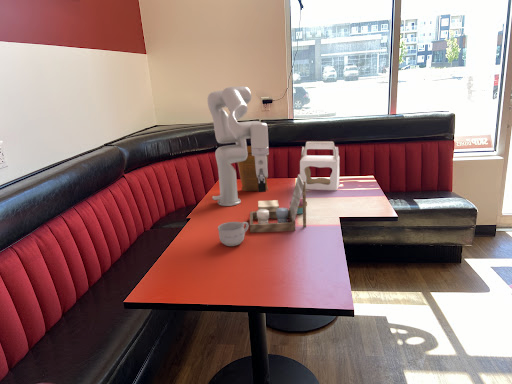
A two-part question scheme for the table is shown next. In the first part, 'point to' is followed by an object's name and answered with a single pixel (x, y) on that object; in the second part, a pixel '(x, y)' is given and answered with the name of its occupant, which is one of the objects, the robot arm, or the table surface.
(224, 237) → the teacup
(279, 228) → the cold frame
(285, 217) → the blue pot
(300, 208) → the cupcake
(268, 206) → the stand
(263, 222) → the cream pot
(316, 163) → the white carry box
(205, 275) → the table surface
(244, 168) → the pancake mix bag
